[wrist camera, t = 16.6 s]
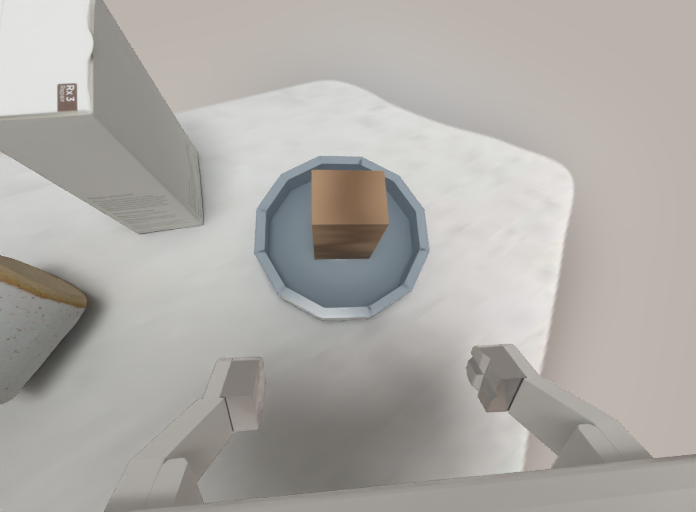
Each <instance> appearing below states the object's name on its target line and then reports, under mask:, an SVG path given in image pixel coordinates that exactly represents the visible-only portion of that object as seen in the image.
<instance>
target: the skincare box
mask: <svg viewBox="0 0 696 512" xmlns="http://www.w3.org/2000/svg"><path fill="white" fill-rule="evenodd" d="M0 151H1V152H2V153H4V154H6V155H8V156H9V157H11V158H13V159H14V160H16V161H18V162H19V163H21V164H23V165H24V166H26V167H28V168H29V169H31V170H33V171H35V172H36V173H38V174H39V175H41V176H43V177H44V178H46V179H48V180H49V181H51V182H53V183H54V184H56V185H58V186H59V187H61V188H63V189H64V190H66V191H68V192H69V193H71V194H73V195H74V196H76V197H78V198H80V199H81V200H83V201H84V202H86V203H88V204H89V205H91V206H93V207H95V208H96V209H98V210H99V211H101V212H103V213H104V214H106V215H108V216H110V217H111V218H113V219H115V220H116V221H118V222H120V223H121V224H123V225H124V226H126V227H128V228H130V229H131V230H133V231H135V232H136V233H147V232H155V231H162V230H170V229H177V228H185V227H193V226H200V225H203V208H202V195H201V183H200V173H199V166H198V153H197V151H196V150H195V148H194V146H193V145H192V143H191V141H190V140H189V138H188V137H187V135H186V133H185V132H184V130H183V129H182V127H181V125H180V124H179V122H178V121H177V119H176V117H175V116H174V114H173V113H172V111H171V109H170V108H169V106H168V104H167V103H166V101H165V100H164V98H163V96H162V95H161V93H160V92H159V90H158V88H157V87H156V85H155V84H154V82H153V80H152V79H151V77H150V76H149V74H148V73H147V71H146V69H145V68H144V66H143V65H142V63H141V61H140V60H139V58H138V56H137V55H136V53H135V51H134V50H133V48H132V47H131V45H130V43H129V42H128V40H127V39H126V37H125V35H124V34H123V32H122V30H121V29H120V27H119V26H118V24H117V22H116V21H115V19H114V18H113V16H112V14H111V13H110V11H109V10H108V8H107V6H106V5H105V3H104V2H103V0H0Z"/></svg>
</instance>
